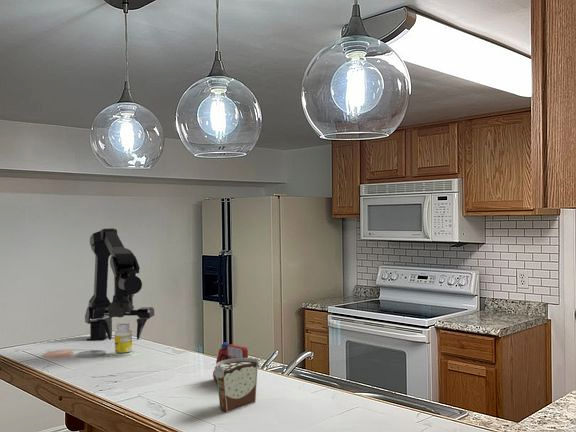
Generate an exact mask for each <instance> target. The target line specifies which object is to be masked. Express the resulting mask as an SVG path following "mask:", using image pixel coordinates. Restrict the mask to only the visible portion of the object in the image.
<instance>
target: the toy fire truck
mask: <svg viewBox="0 0 576 432" xmlns="http://www.w3.org/2000/svg"><path fill="white" fill-rule="evenodd" d="M234 358H249V351H248V347H247V346H241V345H237V344H230V343H229V342H222V344H221V348H219V350H218V353H217V357H216V360H215V361H216V362H215V363H216V364H217V363H218V362H220V361H223V360H227V359H234ZM216 364H215V365H216ZM212 377H213V381H214V382H215V383H216V384H217V385H218V382H217V377H216V376H215V375H214V371H213V372H212Z"/></svg>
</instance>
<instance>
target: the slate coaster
mask: <svg viewBox="0 0 576 432" xmlns="http://www.w3.org/2000/svg"><path fill="white" fill-rule="evenodd" d="M106 354H107V351H106V350H100V349H94V350H93V349H92V350H91V349H90V350H84V351H81V352H77V353H76V357H78V358H86V359H87V358H88V359H89V358H97V357H103V356H105V355H106Z"/></svg>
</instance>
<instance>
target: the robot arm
mask: <svg viewBox="0 0 576 432" xmlns="http://www.w3.org/2000/svg"><path fill="white" fill-rule="evenodd" d="M89 245H90V248H91V249H90V250H91V251H92V253H93V254H94V256H95V259H94V262H95V263H94V278H93V279H94V284H93V295H92V296H91V297H90V299H89V301H88V306H87V307H86V311H85V313H84V323H85V324H87V325H88V324H89V327H90V328H89V329H90V330H89V333H90V336H89V337H87V338H86V340H87V341H102V340H103V341H104V340H107V339H108V340H110V341H111V340H112V339H113V324H112V323H113V322H112V321H113V318H124V317H125V316H128V317H129V316H131V317H132V316H137V317H138V318H137V319H136V325H137V326H136V340H138V341H139V340H140V338H141V335H142V332H143V329H144V327H145V325H146V322H147V320H150V319H151V318H152V317H154V316H155V308H154V307H153V306H149V307H148V306H147V307H146V306H142V307H139V308H138V309H135V306H134V300H133V297H135V294H138V293H139V292H140V291H141V290H142V287H143V282H142V280H141V278H140V277H139V276H137V275H136V274H140V268H141V267H140V264H139V261H138V259H137V256H135V254H134V253H133V251H132V250H131V249H129V248H126V247H125V245H124V244H123V242H122V241H121V238H120V236H119V234H118V230H117V228H113V227H112V228H111V227H110V228H101V229H100V230H99V231H96V232H93V233H92V234H91V235H90V237H89ZM109 265H110V268H111V271H112V274H113V276H114V278H113V280H114V281H113V282H114V283H113V285H114V295H112V302H111V301H110V299H109V298H108V277H109Z"/></svg>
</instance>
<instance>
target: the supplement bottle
mask: <svg viewBox="0 0 576 432" xmlns="http://www.w3.org/2000/svg"><path fill="white" fill-rule="evenodd" d="M132 331H133V330H130V323H128V322H121V323H117V324H116V331H115V332H114V353H115V354H116V355H118V356H125V355H130V354H132V351H133V332H132Z"/></svg>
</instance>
